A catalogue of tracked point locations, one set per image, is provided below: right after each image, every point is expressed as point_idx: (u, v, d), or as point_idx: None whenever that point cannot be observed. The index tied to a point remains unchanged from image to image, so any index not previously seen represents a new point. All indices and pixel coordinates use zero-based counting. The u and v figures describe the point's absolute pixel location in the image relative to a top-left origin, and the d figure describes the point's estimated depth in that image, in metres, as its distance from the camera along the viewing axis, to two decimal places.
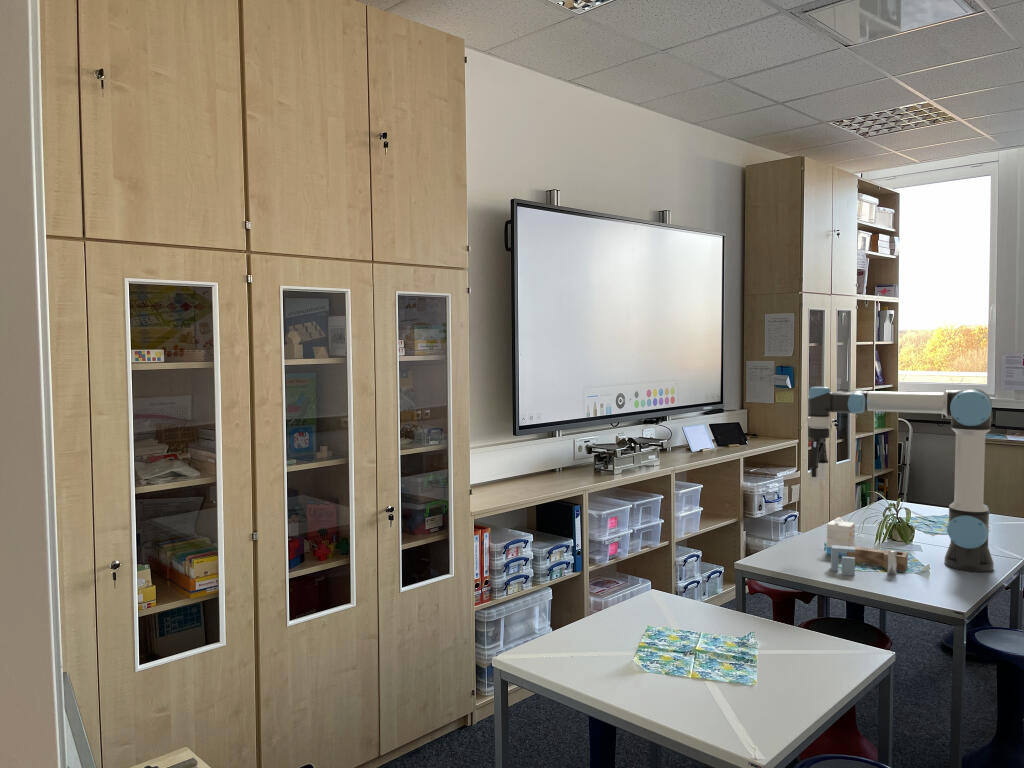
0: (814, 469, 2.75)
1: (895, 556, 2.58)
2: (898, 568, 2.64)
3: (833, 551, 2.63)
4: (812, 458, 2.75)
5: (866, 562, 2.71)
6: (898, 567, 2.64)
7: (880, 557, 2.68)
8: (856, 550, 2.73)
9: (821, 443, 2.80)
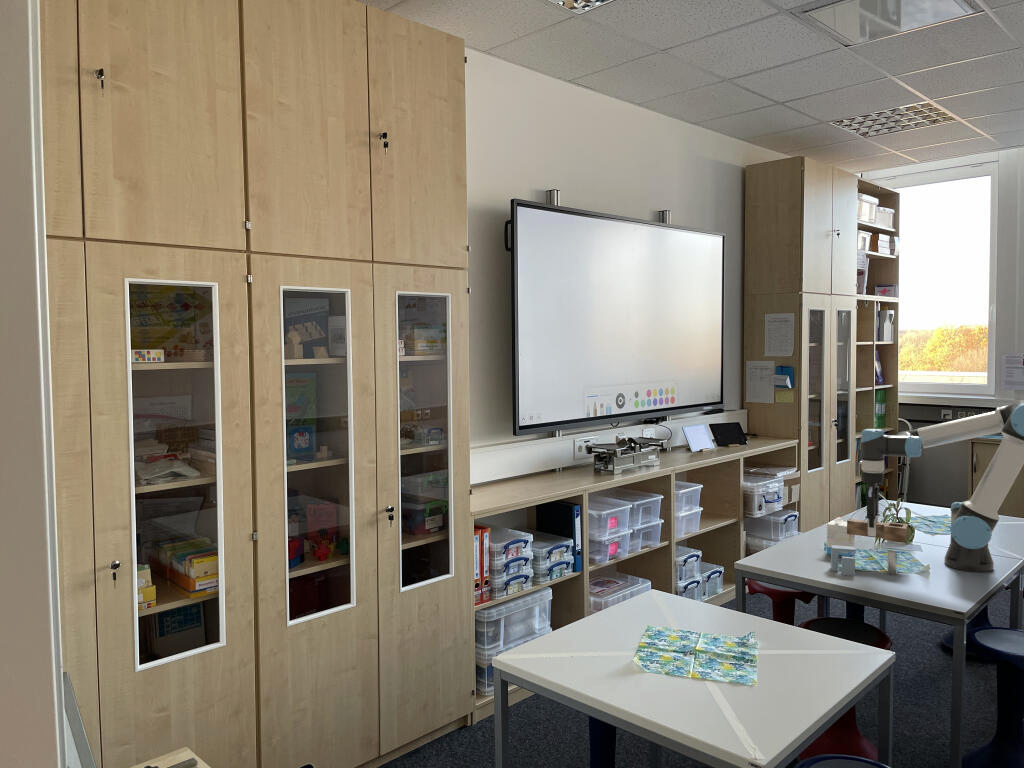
0: (872, 519, 2.68)
1: (895, 556, 2.58)
2: (898, 540, 2.63)
3: (833, 551, 2.63)
4: (869, 509, 2.66)
5: (866, 534, 2.71)
6: (898, 539, 2.63)
7: (880, 529, 2.68)
8: (856, 523, 2.72)
9: (875, 489, 2.68)
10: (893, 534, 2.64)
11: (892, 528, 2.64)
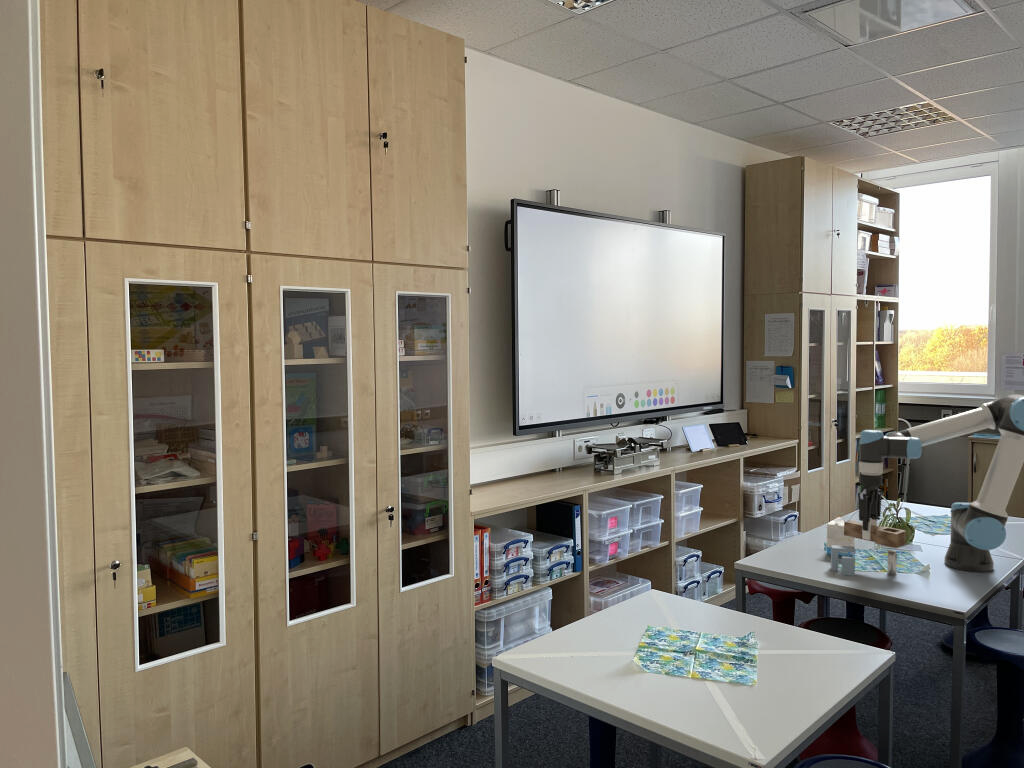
0: (865, 522, 2.62)
1: (895, 556, 2.58)
2: (889, 545, 2.56)
3: (833, 551, 2.63)
4: (861, 511, 2.61)
5: (861, 537, 2.65)
6: (889, 544, 2.56)
7: (875, 533, 2.62)
8: (852, 524, 2.68)
9: (871, 491, 2.62)
10: (885, 539, 2.57)
11: (884, 532, 2.57)
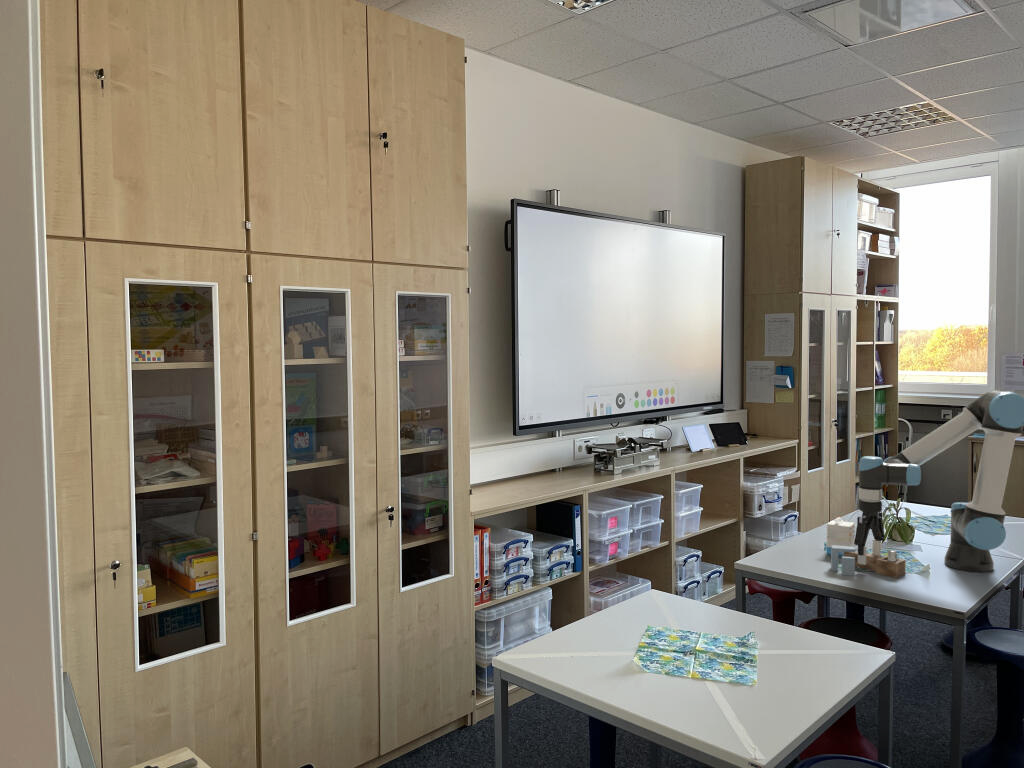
0: (860, 547, 2.60)
1: (895, 556, 2.58)
2: (889, 575, 2.56)
3: (833, 551, 2.63)
4: (857, 535, 2.60)
5: (861, 566, 2.66)
6: (889, 574, 2.56)
7: (874, 562, 2.62)
8: (852, 554, 2.68)
9: (871, 517, 2.62)
10: (884, 568, 2.58)
11: (883, 562, 2.58)
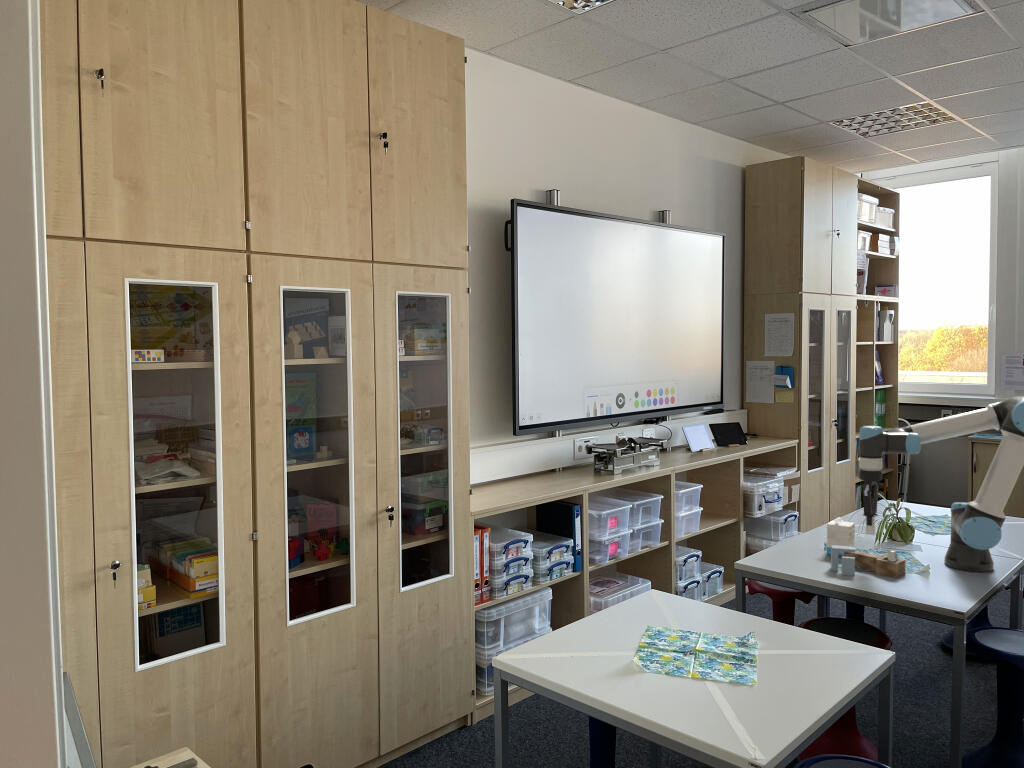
0: (869, 517, 2.65)
1: (895, 556, 2.58)
2: (889, 575, 2.56)
3: (833, 551, 2.63)
4: (866, 507, 2.64)
5: (861, 566, 2.66)
6: (889, 574, 2.56)
7: (874, 562, 2.62)
8: (852, 554, 2.68)
9: (873, 487, 2.64)
10: (884, 568, 2.58)
11: (883, 562, 2.58)
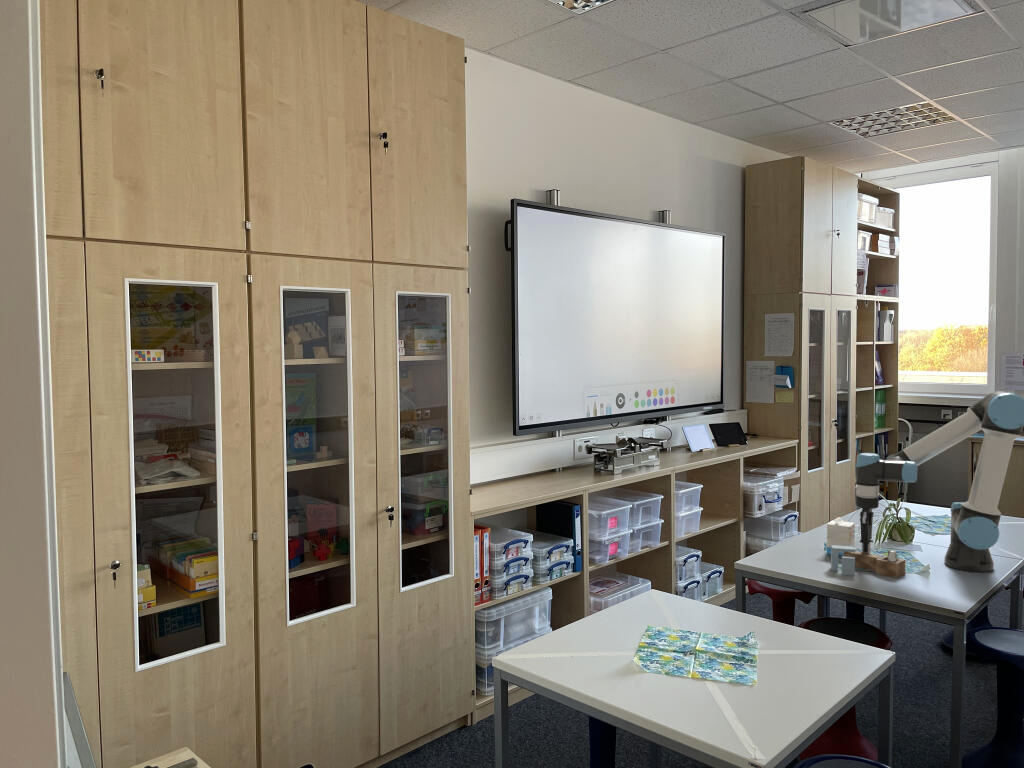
0: (866, 544, 2.67)
1: (895, 556, 2.58)
2: (889, 575, 2.56)
3: (833, 551, 2.63)
4: (863, 534, 2.65)
5: (861, 566, 2.66)
6: (889, 574, 2.56)
7: (874, 562, 2.62)
8: (852, 554, 2.68)
9: (870, 514, 2.66)
10: (885, 568, 2.58)
11: (884, 562, 2.58)
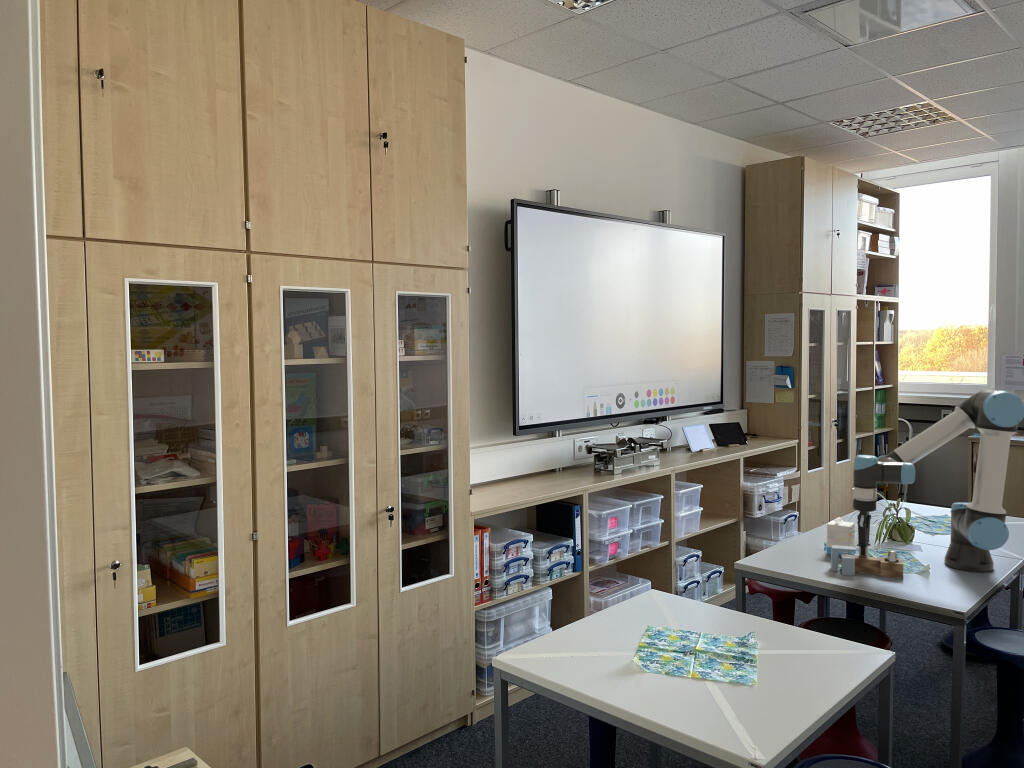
0: (863, 548, 2.63)
1: (895, 556, 2.58)
2: (896, 576, 2.55)
3: (833, 551, 2.63)
4: (861, 538, 2.61)
5: (861, 571, 2.61)
6: (896, 575, 2.55)
7: (876, 565, 2.59)
8: None
9: (867, 517, 2.61)
10: (890, 570, 2.55)
11: (889, 564, 2.56)
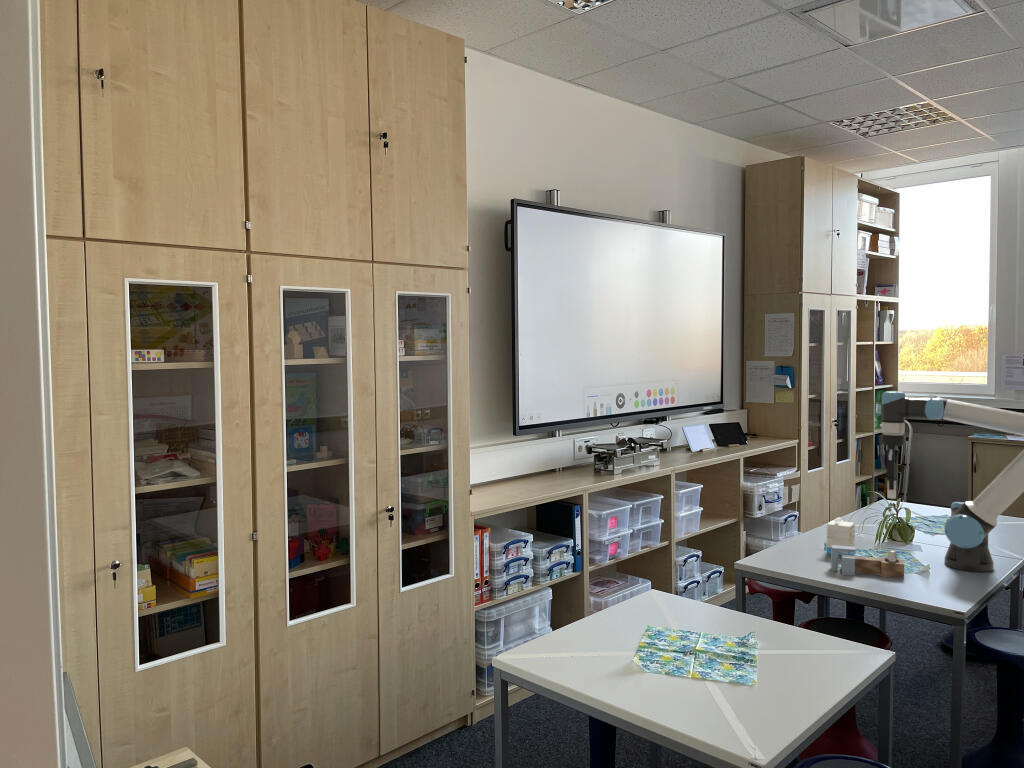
0: (892, 482, 2.68)
1: (895, 556, 2.58)
2: (897, 576, 2.55)
3: (833, 551, 2.63)
4: (889, 472, 2.66)
5: (862, 571, 2.60)
6: (897, 575, 2.55)
7: (877, 565, 2.58)
8: None
9: (895, 451, 2.67)
10: (891, 570, 2.55)
11: (890, 564, 2.55)
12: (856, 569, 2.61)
